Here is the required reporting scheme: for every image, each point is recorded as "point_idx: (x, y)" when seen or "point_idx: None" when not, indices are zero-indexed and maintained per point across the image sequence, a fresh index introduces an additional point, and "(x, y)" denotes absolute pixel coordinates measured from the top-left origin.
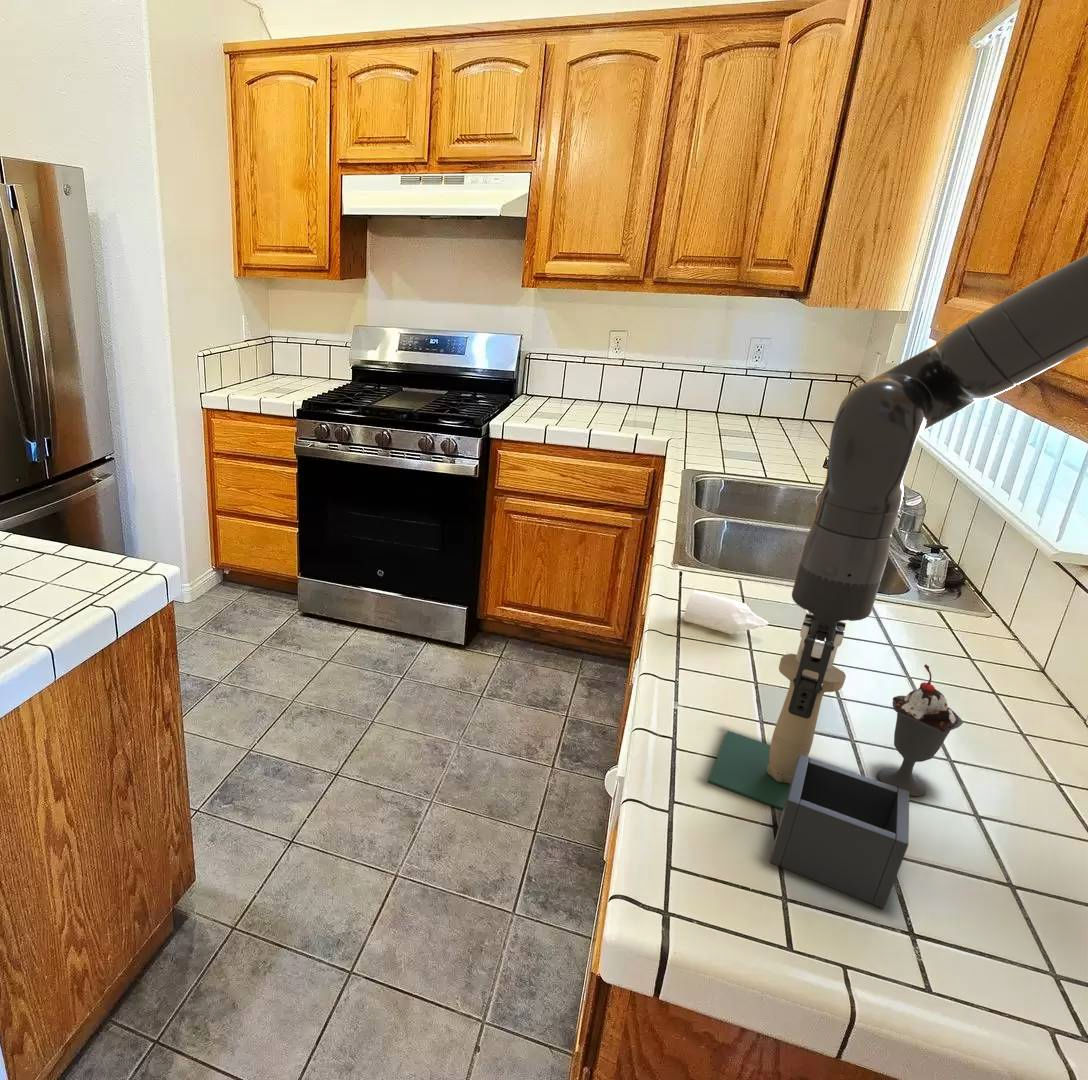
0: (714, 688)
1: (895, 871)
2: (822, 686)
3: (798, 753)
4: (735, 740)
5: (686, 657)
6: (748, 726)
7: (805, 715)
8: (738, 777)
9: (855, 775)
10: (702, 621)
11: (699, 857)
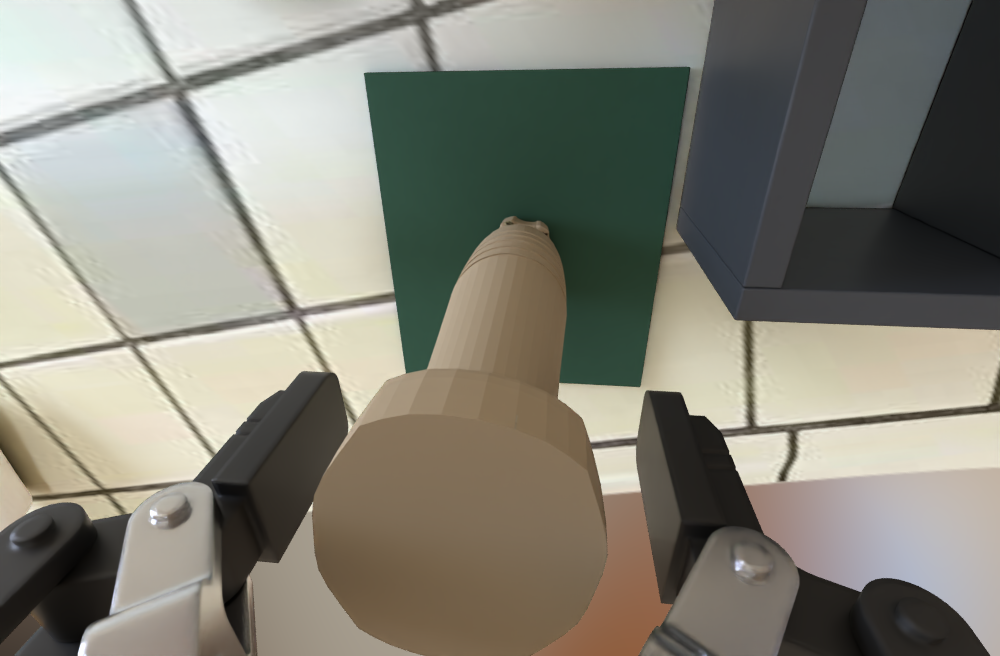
0: (243, 412)
1: None
2: (944, 642)
3: (560, 273)
4: None
5: (171, 470)
6: (342, 335)
7: (706, 421)
8: (590, 335)
9: (808, 110)
10: (7, 482)
11: (939, 364)
